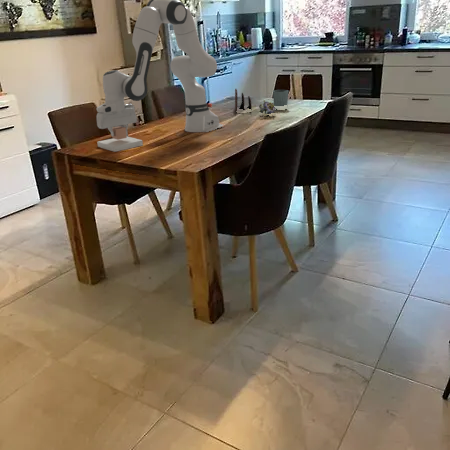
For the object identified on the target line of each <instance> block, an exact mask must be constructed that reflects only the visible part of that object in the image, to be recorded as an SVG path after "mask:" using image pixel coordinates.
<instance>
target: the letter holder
mask: <svg viewBox="0 0 450 450" xmlns="http://www.w3.org/2000/svg"><path fill="white" fill-rule="evenodd" d="M247 99H248V100H247V101H248V105H247V106H248V107H247V108H249V109H251V110H252V109H253V108H252V99H251V97H250V95H249V96H247ZM244 106H245V94H244V92H241V102H240V105H239V107H240V108H239V109H243V110H245V109H244ZM237 107H238V89H237V88H235V90H234V109H235V108H236V109H235V112H236V111H237Z"/></svg>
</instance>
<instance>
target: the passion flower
mask: <svg viewBox="0 0 450 450" xmlns="http://www.w3.org/2000/svg"><path fill="white" fill-rule="evenodd" d="M258 108H259V111H258V113H259V112H260V114H261V113H262V114H266V115H267V114H271V113H274V112H275V113H276V110H275V109H276V108H275V107H274V102H271V101H266V100H265V99H263V104H262V103H260V104H259V106H258Z"/></svg>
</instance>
